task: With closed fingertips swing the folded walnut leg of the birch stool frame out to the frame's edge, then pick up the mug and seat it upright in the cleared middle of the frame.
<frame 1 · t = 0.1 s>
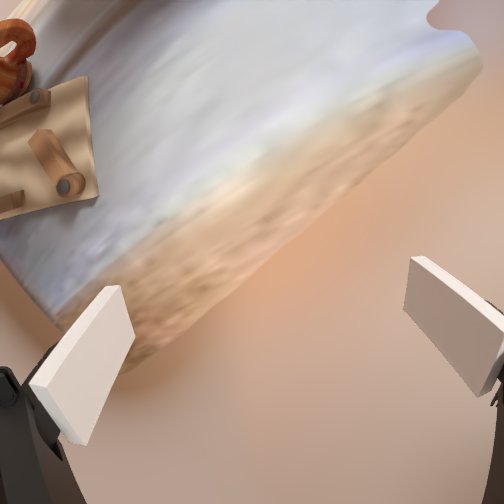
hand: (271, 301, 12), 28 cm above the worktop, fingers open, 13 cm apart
leg: (55, 163, 32), point 4 cm above the worktop, hinge at 0.0°
seat: (31, 154, 35), on the worktop
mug: (30, 72, 30), on the worktop
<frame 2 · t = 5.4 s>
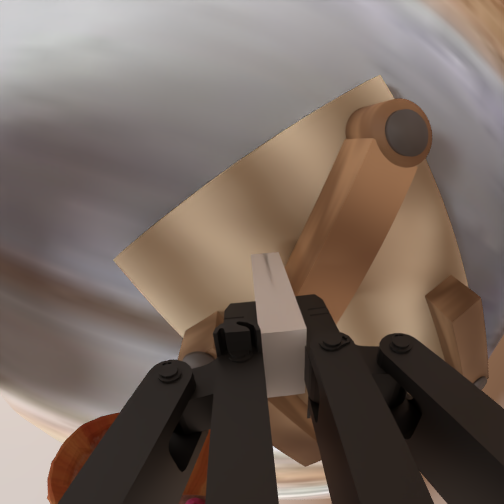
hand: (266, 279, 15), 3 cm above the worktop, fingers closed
leg: (355, 208, 13), point 4 cm above the worktop, hinge at 2.0°, touching gripper
seat: (345, 313, 19), on the worktop
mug: (183, 399, 22), on the worktop
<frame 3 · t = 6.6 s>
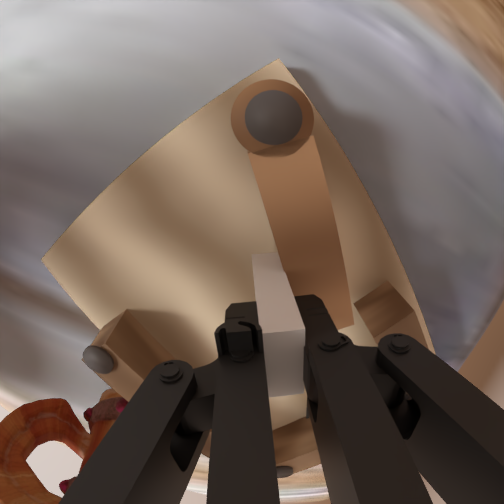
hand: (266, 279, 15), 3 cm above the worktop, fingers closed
leg: (296, 211, 13), point 4 cm above the worktop, hinge at 42.2°, touching gripper
seat: (264, 318, 19), on the worktop
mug: (122, 392, 22), on the worktop
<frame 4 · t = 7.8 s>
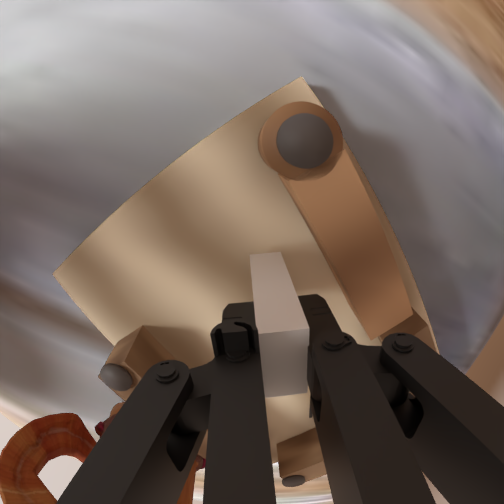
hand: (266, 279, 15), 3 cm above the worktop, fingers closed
leg: (340, 222, 13), point 4 cm above the worktop, hinge at 56.5°
seat: (279, 333, 19), on the worktop
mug: (132, 405, 21), on the worktop
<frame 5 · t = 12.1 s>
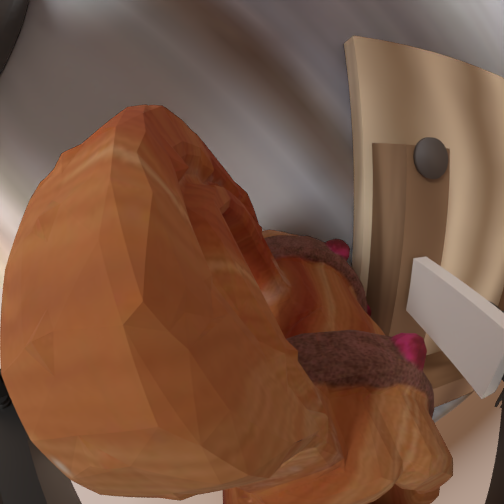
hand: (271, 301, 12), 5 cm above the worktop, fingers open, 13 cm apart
seat: (461, 235, 17), on the worktop
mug: (260, 250, 17), on the worktop
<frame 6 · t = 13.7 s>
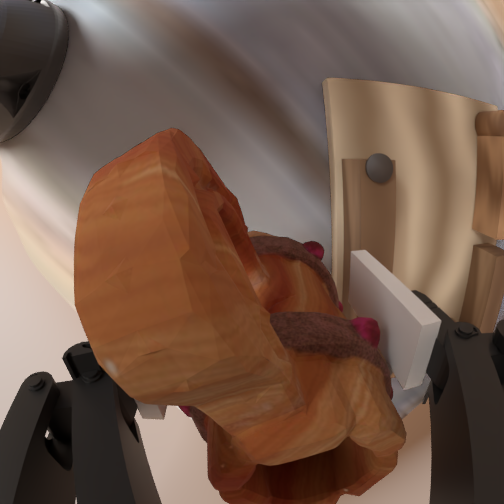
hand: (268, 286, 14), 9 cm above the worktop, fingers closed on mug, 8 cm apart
leg: (499, 172, 18), point 4 cm above the worktop, hinge at 56.5°
seat: (425, 228, 23), on the worktop
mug: (245, 249, 19), point 4 cm above the worktop, touching gripper
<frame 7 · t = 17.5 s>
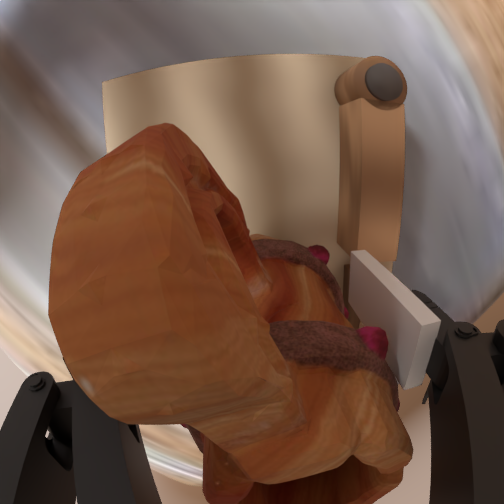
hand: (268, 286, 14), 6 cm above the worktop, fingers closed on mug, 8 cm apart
leg: (371, 157, 15), point 4 cm above the worktop, hinge at 56.5°
seat: (261, 243, 20), on the worktop
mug: (248, 253, 19), point 1 cm above the worktop, touching gripper, seat
when the fingers open (6 cm above the worktop, at t = 17.8 s): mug stays where it is, resting on seat.
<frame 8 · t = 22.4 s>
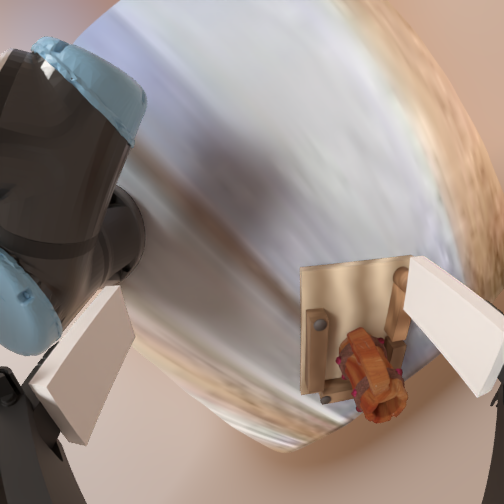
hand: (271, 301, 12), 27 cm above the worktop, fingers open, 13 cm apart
leg: (402, 305, 40), point 4 cm above the worktop, hinge at 56.5°
seat: (354, 329, 45), on the worktop
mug: (351, 335, 44), point 1 cm above the worktop, touching seat
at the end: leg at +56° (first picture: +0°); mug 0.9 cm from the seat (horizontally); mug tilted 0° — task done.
